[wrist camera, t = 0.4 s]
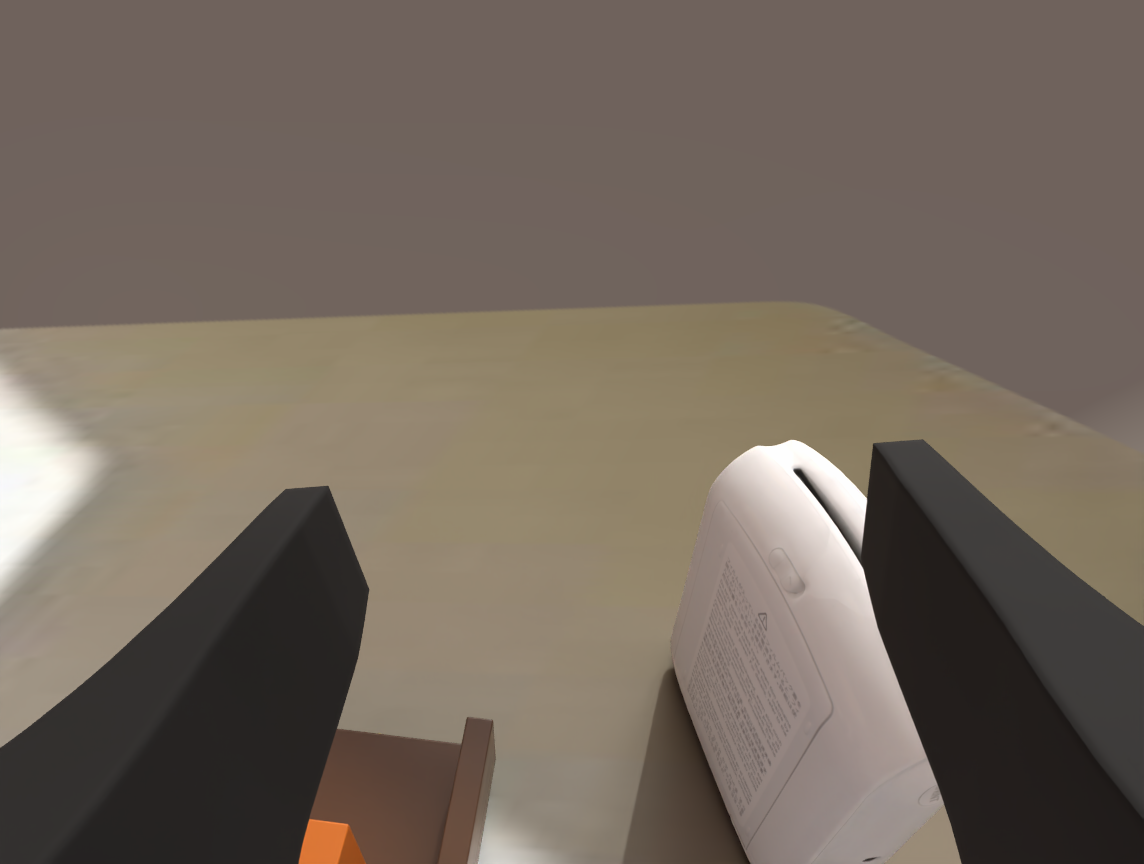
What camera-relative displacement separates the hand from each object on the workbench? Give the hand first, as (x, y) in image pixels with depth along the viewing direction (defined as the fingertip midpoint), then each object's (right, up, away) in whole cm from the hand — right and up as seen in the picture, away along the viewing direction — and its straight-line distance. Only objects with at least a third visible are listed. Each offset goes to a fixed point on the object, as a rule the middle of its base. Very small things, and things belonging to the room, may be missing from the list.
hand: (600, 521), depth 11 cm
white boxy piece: (+6, -10, +18) cm, 22 cm away
